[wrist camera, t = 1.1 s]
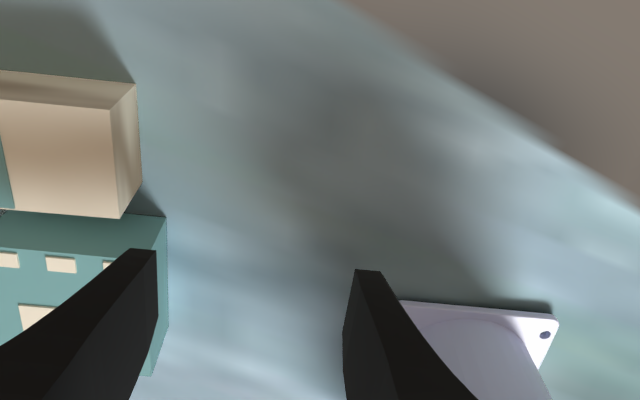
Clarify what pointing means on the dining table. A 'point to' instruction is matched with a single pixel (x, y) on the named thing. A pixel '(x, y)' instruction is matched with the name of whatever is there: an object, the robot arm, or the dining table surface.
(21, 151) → the stub
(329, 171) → the dining table surface
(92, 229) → the teal toy building
